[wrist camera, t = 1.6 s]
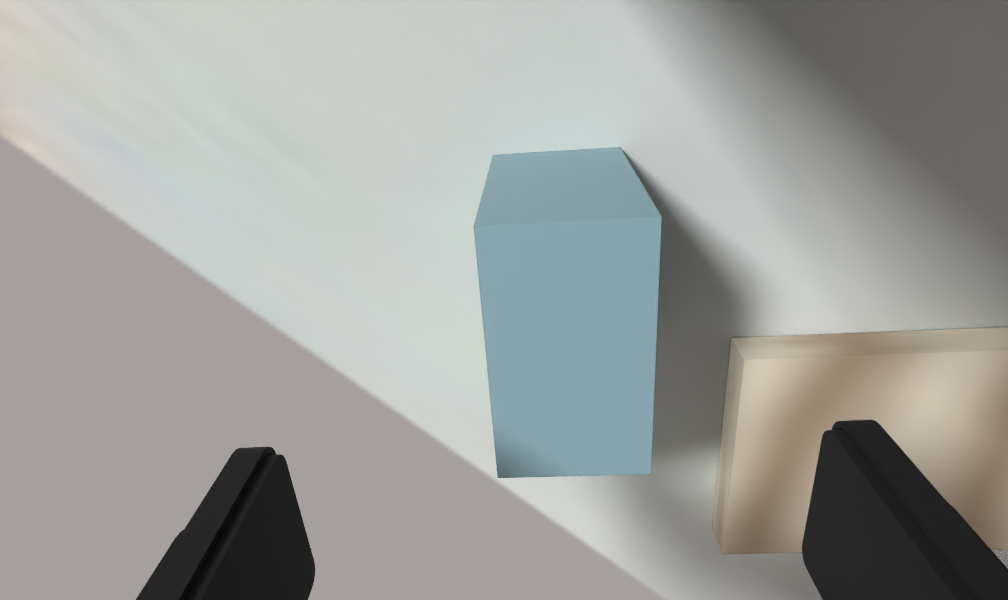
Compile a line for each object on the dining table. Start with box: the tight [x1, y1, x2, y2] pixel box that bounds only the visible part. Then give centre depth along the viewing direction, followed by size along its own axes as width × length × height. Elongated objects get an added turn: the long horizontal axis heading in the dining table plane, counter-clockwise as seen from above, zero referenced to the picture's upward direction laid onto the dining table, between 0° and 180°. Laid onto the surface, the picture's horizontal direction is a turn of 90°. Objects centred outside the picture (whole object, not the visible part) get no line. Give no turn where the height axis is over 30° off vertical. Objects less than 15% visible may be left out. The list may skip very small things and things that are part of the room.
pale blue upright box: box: [474, 147, 662, 478], centre depth 18 cm, size 4×7×7 cm, turn 4°
